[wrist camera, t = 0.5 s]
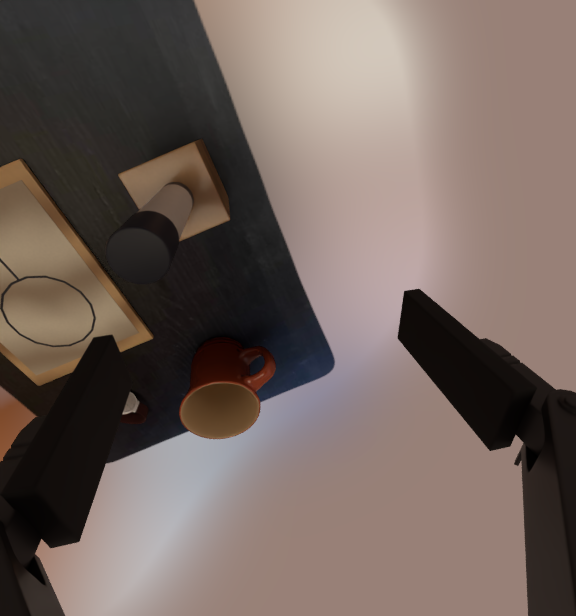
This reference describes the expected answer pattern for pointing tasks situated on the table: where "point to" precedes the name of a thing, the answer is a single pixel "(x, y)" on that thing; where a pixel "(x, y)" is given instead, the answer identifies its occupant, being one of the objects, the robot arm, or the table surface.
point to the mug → (224, 388)
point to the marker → (150, 236)
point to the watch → (135, 407)
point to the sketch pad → (52, 285)
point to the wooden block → (191, 172)
